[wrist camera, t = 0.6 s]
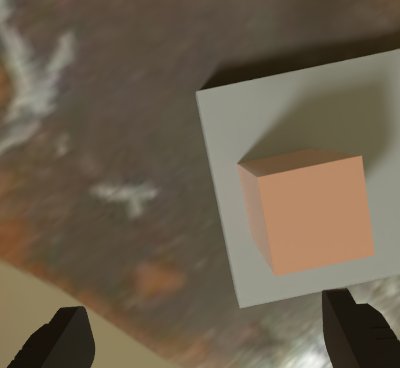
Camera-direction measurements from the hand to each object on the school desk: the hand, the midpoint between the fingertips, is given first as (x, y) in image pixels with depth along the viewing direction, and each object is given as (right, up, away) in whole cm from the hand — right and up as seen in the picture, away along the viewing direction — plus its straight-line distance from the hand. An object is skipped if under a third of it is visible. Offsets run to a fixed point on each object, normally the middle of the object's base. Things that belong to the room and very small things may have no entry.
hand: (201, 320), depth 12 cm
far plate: (+9, +5, +19) cm, 22 cm away
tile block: (+6, +4, +16) cm, 18 cm away
